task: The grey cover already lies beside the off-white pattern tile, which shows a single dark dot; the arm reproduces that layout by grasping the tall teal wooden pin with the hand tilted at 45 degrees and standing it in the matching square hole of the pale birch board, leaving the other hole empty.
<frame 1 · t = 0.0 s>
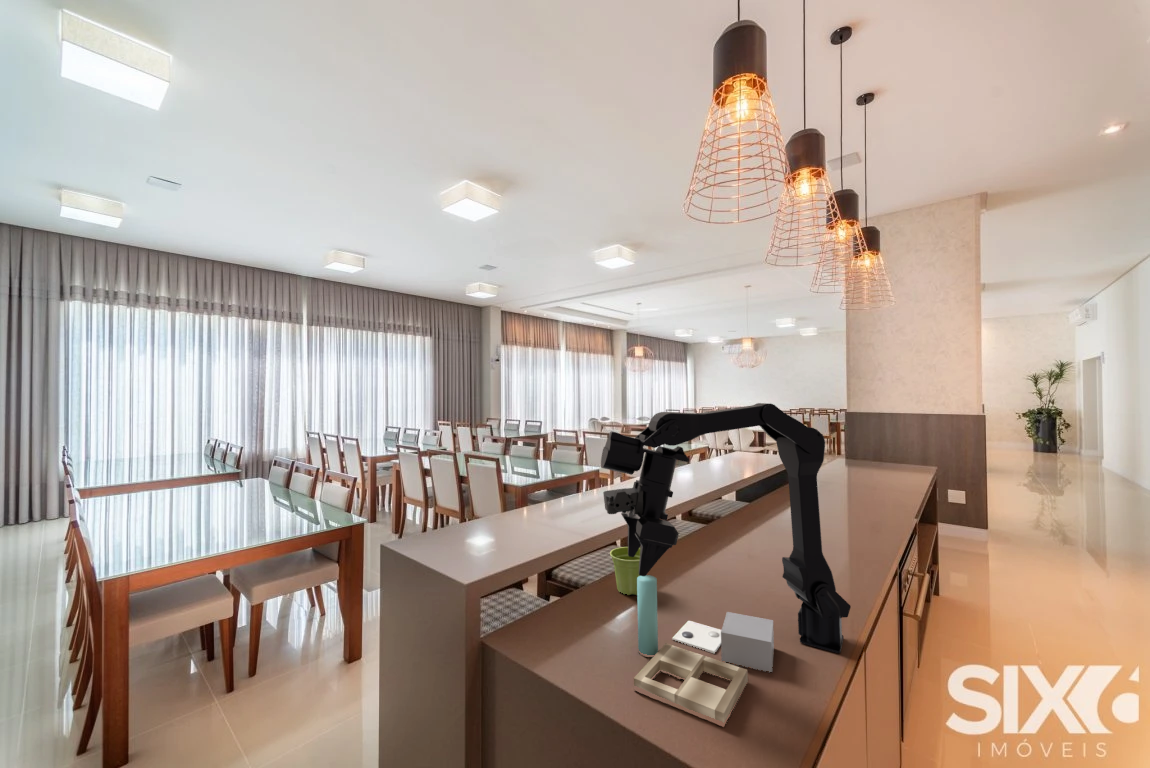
hand: (635, 565, 82), 15 cm above the counter, tool pointing down, fingers open, 9 cm apart
pin: (648, 652, 82), on the counter
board: (691, 686, 72), on the counter
pattern tile: (700, 637, 87), on the counter
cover: (748, 654, 81), on the counter
plant pot: (630, 591, 108), on the counter
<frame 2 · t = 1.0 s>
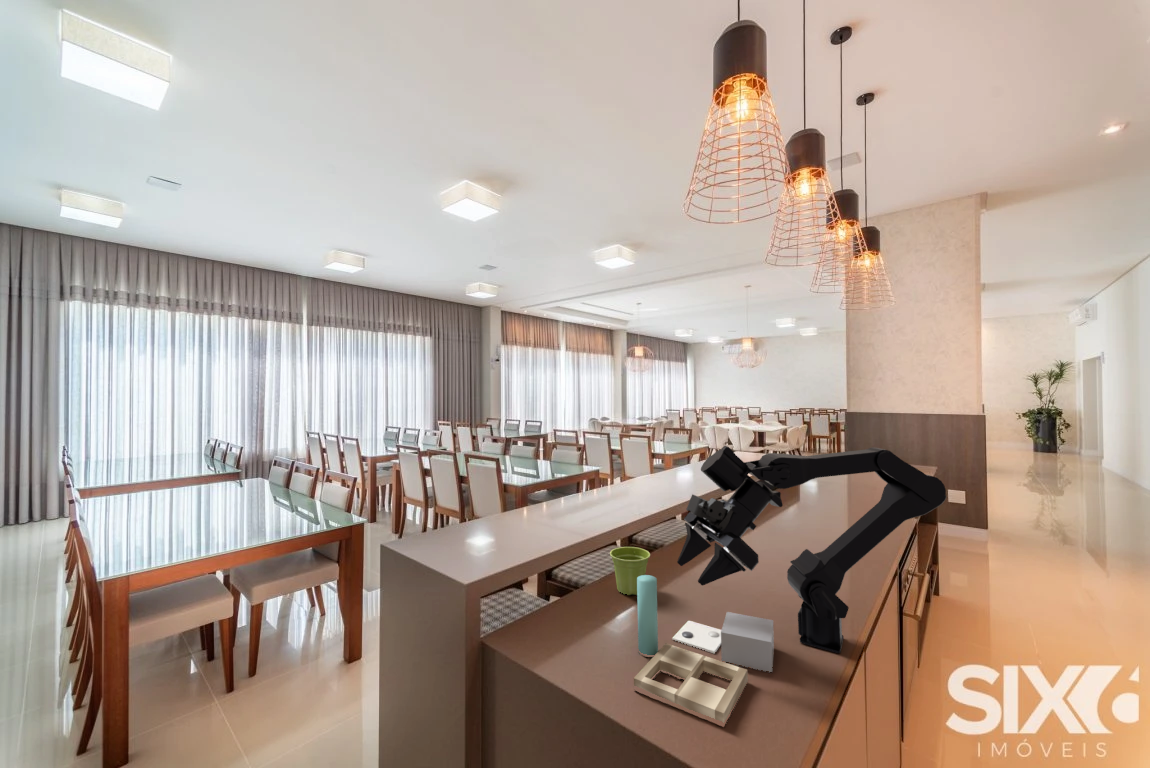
hand: (688, 573, 84), 13 cm above the counter, tool tilted 45°, fingers open, 9 cm apart
nothing on the counter moved.
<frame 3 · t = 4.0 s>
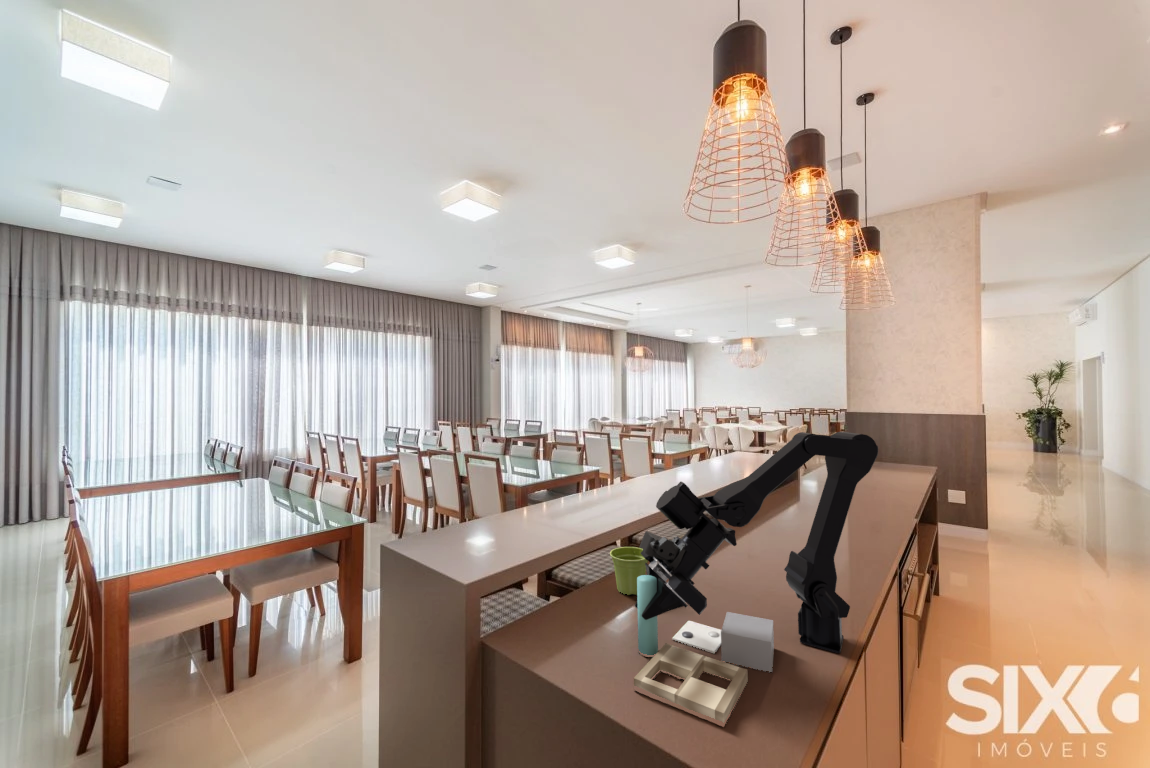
hand: (639, 612, 82), 7 cm above the counter, tool tilted 45°, fingers closed on pin, 3 cm apart
pin: (648, 651, 82), on the counter, touching gripper
everything else where it was.
when the fingers open (8 cm above the counter, at t = 7.1 s): pin stays where it is, resting in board.
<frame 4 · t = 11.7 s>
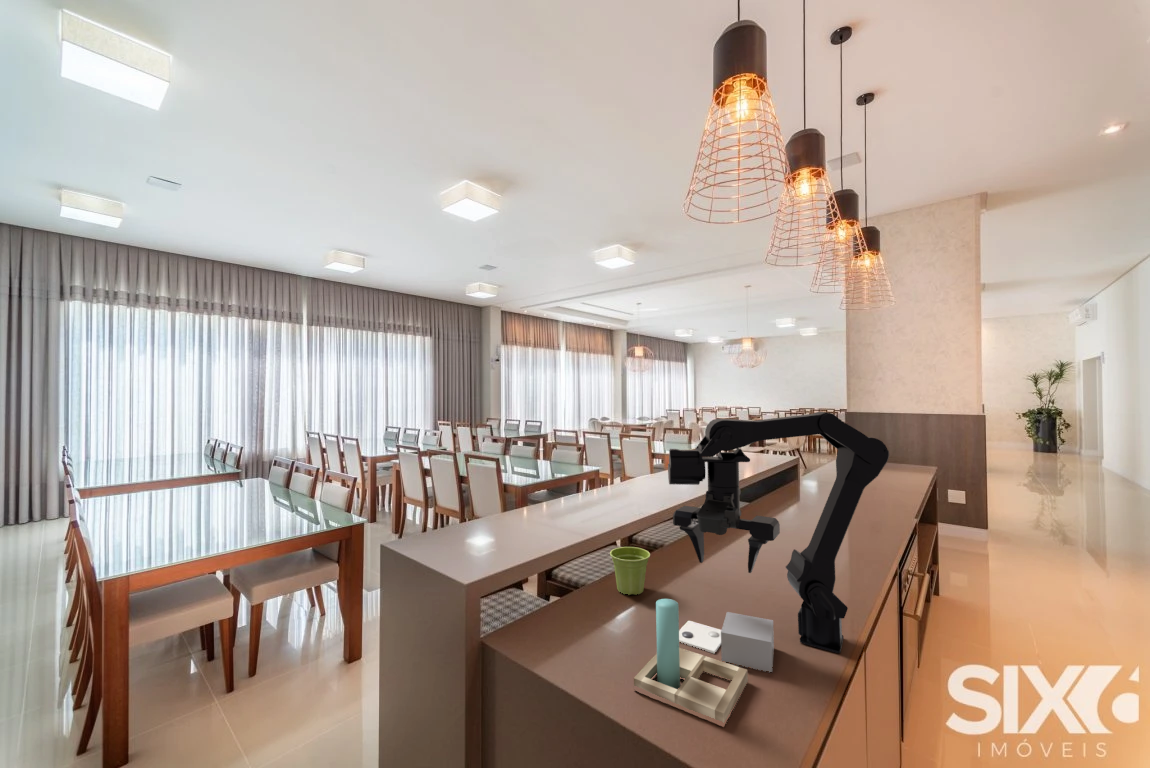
hand: (725, 567, 87), 13 cm above the counter, tool pointing down, fingers open, 9 cm apart
pin: (668, 686, 72), resting in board
everything else where it was.
at the end: pin 0.0 cm from the target spot on the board, point 0.0 cm above the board's base; pin tilted 0°; the gripper is holding nothing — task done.
